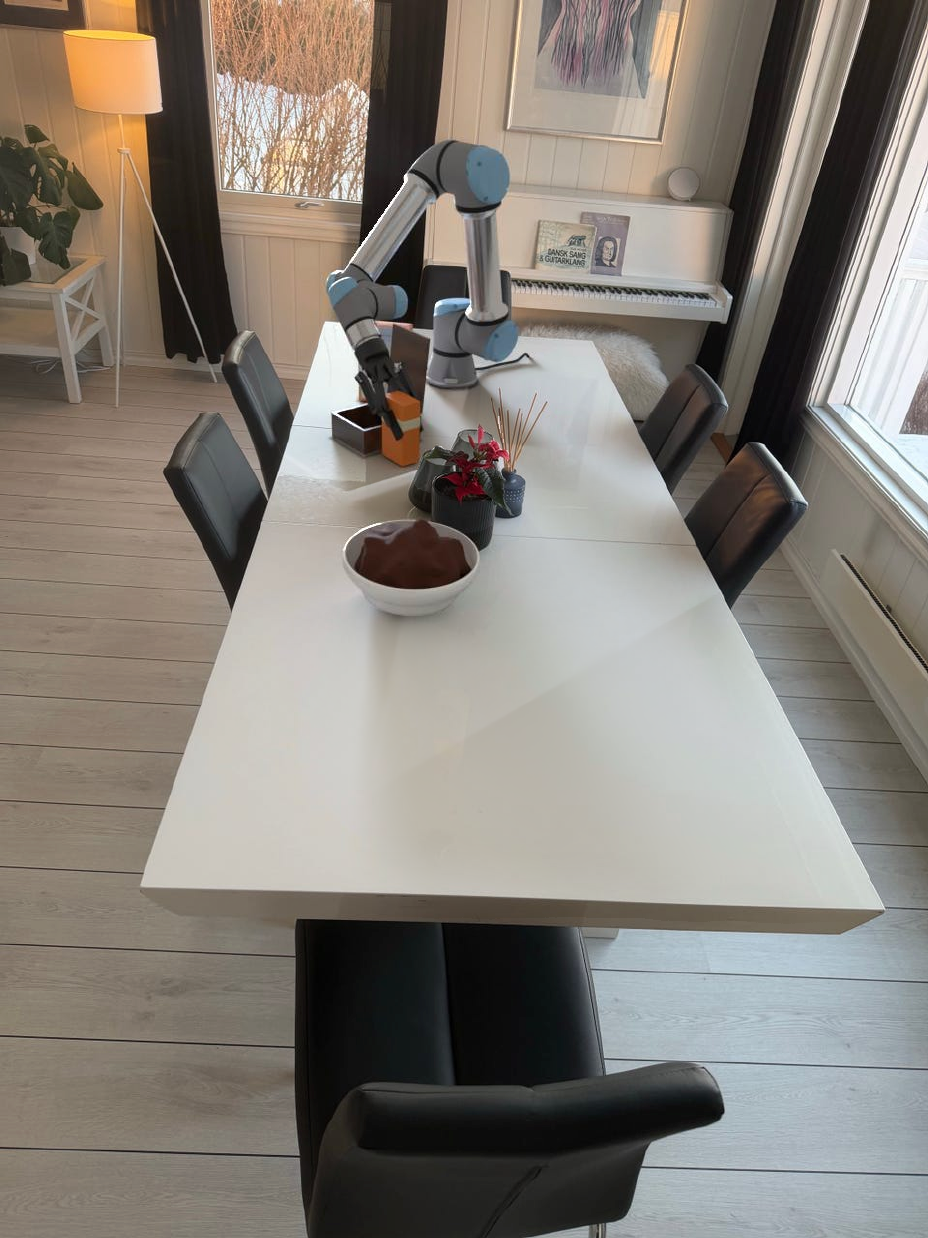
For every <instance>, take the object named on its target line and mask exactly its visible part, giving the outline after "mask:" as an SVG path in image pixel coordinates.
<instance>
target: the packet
mask: <svg viewBox="0 0 928 1238" xmlns="http://www.w3.org/2000/svg"><path fill="white" fill-rule="evenodd" d="M385 395H386V399H387V404H388V412H389V411H390V410H393V413H394V415H395V417H396V419H397V421H398V423H399V426H400V428H401V430H402V432H403V434H404V436H403V437H402V438H401V439H400V440H398V441H396V439H395V437H394V435H393V433H392V431H391V429H390V427H387V426H386V423H385V421H384V419H383V417H382V450H381V456H384V457H385V458H387V459H389V460H391V461H392V462H394V463H395V464H397V465H399V466H400V467H406V466H409V465H413V464H415V463H418V462H419V461H420V439H419V436H420V437H421V434H420V415H421V414H420V401H419V400H417V399H415V398H413V397H411V396H409V395H407V394H405V393H403V392H401V391H399V390H398V391H395V392H391V393H387V394H385Z"/></svg>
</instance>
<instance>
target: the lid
mask: <svg viewBox="0 0 928 1238" xmlns="http://www.w3.org/2000/svg"><path fill="white" fill-rule="evenodd" d="M396 323H397V322H394V323H393V329H392V341H391V353H390V358H391V359H392V360H393V361H394V363H398V364H400V363H401V362H404V363H405V365H406V371H407V373H408V375H409V377H410V379H411V382H412V384H413V386H414V388H415V390H416V392H417V394H418V396H419V401H420V415H422V414H424V413H423V411H424V405H425V404H424V403H425V395H426V394H425V393H426V385H427V381H426V376H427V368H428V366H429V357H430V346H431V337H428V336H426V335H424V334H421V333H419V332H416V331H414V330H413V331H412V330H410V329H407V328H405V327H403V326H400V325H398V324H396ZM394 372H395V370H394ZM396 375H397V374H396ZM391 379H392V378H391ZM391 379H390V380H391ZM398 380H399V378H398ZM399 381H400V380H399ZM391 392H394V391H393V389H392V388H391V387H390V386H388V389H387V393H391Z"/></svg>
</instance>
